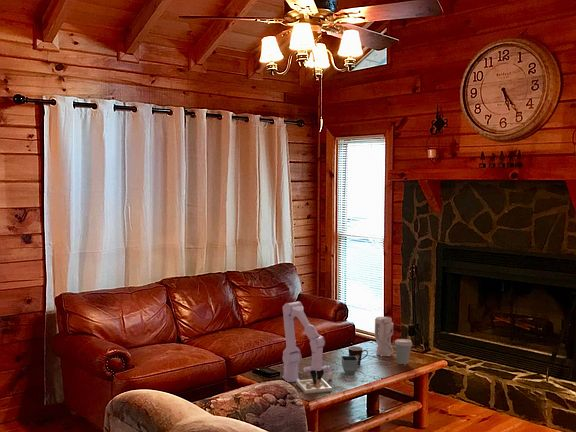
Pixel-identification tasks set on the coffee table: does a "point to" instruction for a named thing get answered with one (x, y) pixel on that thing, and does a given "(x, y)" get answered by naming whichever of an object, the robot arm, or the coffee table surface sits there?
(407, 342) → the disposable coffee cup
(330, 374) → the peg
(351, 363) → the flower pot
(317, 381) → the collar
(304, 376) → the coffee table surface
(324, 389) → the tray
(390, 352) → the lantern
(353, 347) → the coffee mug
